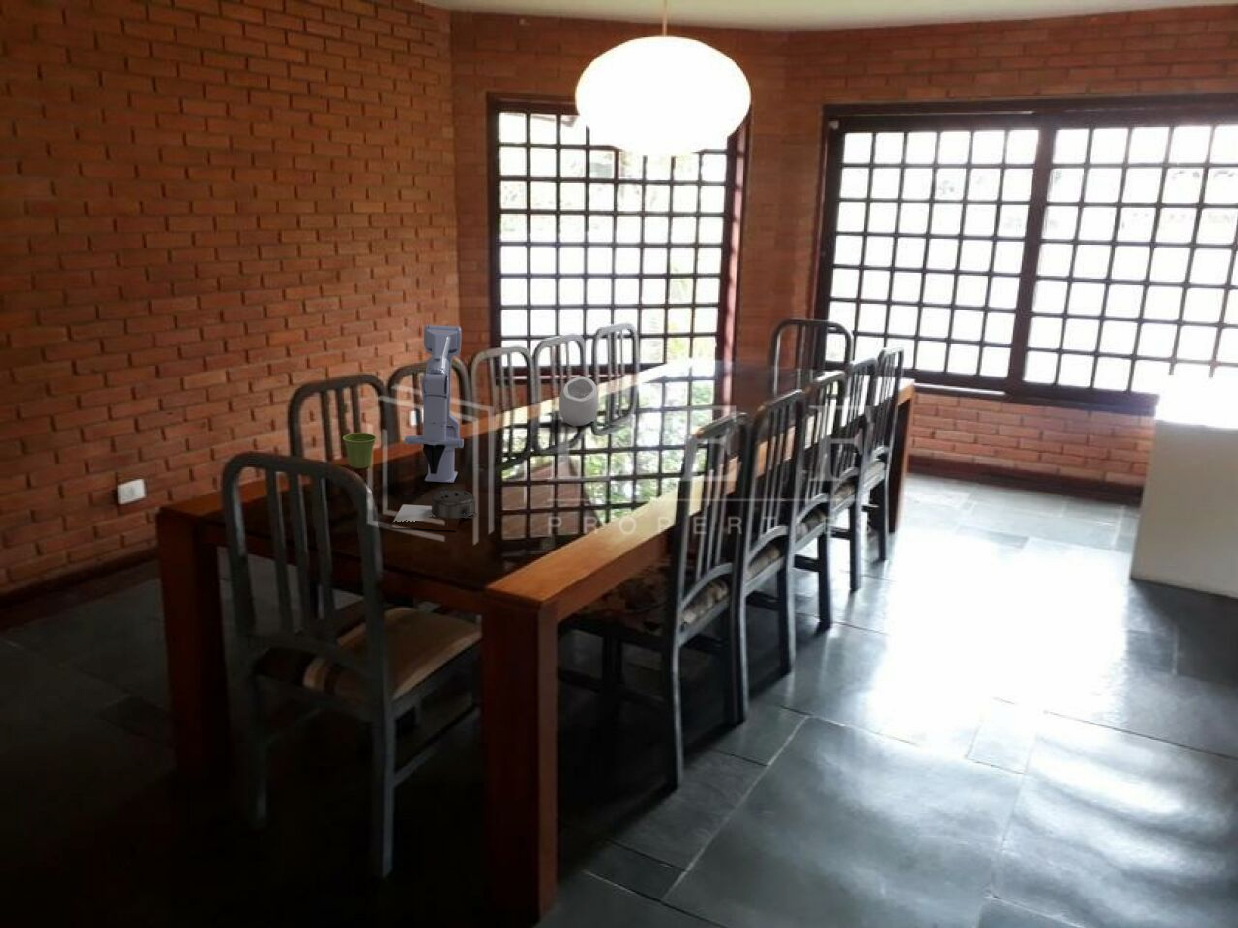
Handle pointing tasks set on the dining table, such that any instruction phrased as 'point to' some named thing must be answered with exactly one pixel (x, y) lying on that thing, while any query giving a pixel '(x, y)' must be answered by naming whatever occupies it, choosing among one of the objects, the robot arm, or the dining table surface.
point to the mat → (414, 513)
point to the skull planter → (578, 401)
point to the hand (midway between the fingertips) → (434, 472)
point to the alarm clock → (453, 504)
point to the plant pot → (359, 449)
